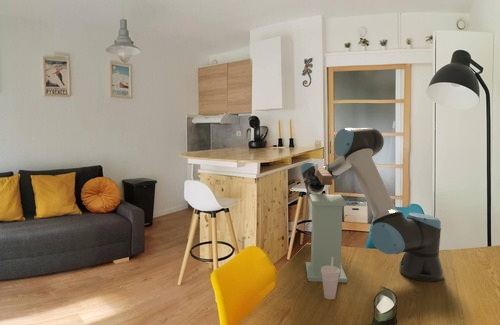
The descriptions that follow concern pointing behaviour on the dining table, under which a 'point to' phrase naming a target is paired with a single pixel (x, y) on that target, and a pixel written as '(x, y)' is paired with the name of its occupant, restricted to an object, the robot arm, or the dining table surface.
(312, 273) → the stand
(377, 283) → the dining table surface
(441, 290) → the dining table surface
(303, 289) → the dining table surface
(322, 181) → the walnut bar
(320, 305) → the dining table surface
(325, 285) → the smoothie
